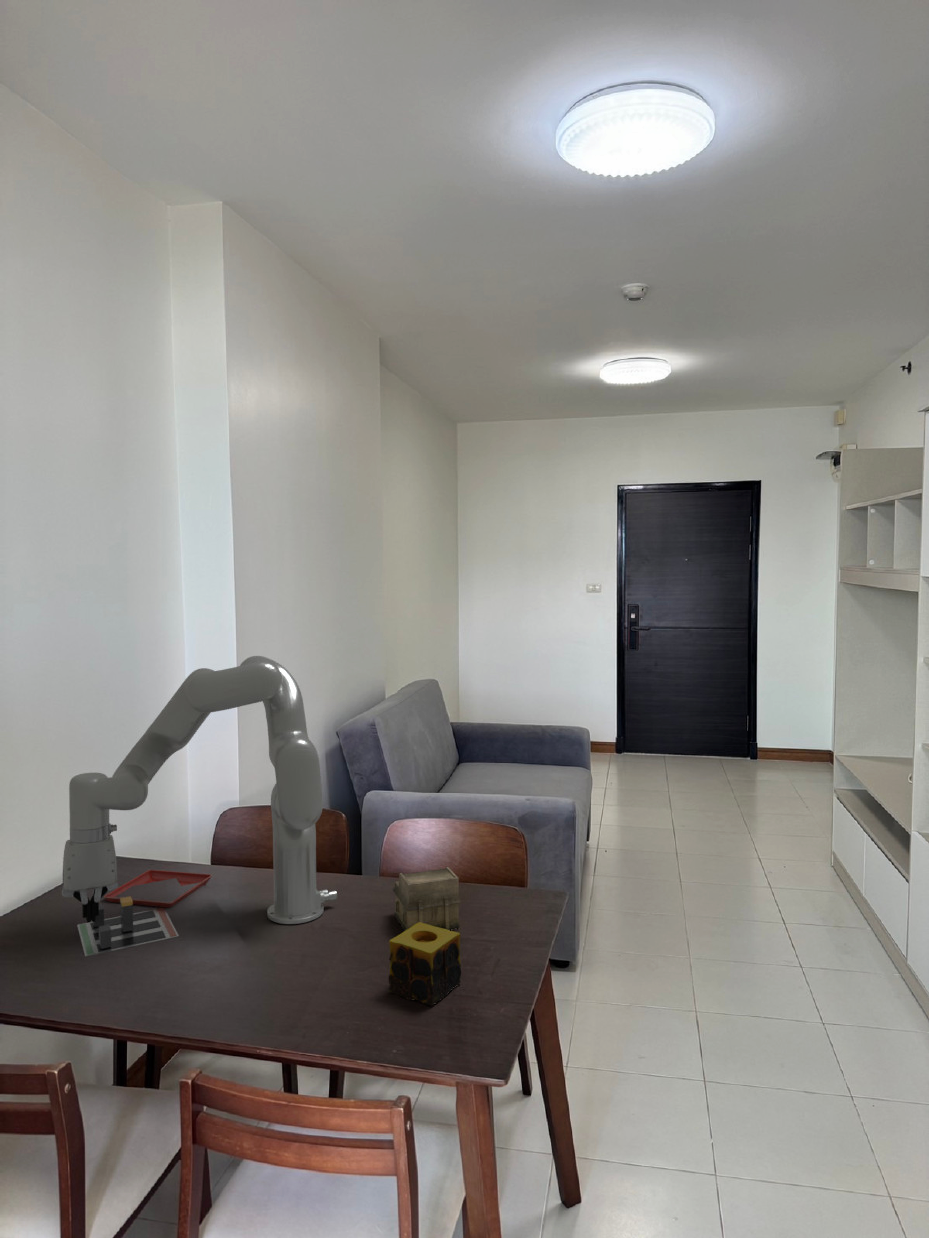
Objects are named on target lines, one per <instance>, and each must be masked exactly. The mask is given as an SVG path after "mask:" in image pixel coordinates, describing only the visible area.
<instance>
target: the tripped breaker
mask: <svg viewBox="0 0 929 1238" xmlns="http://www.w3.org/2000/svg"><path fill="white" fill-rule="evenodd" d="M119 898H120V916H121V928H122V930H123V932H126V931H131V930H133V914H134V913H133V911H134V910H133V905H134V904H133V901H132V899H133V898H132V896H131V895H130V896H125V897H124V896H123V897H119Z"/></svg>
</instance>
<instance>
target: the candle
mask: <svg viewBox="0 0 929 1238" xmlns="http://www.w3.org/2000/svg"><path fill="white" fill-rule="evenodd" d="M460 940H461V933H460V932H457V931H455V930H451V931H450V930H447V929H443V928H439V927H435V926H432V925H428V924H424V923H421V922H419V923H416V924H415V925H413V926H412V927H411V928H409V929H407V930H406V931H404V930H403V932H401V933H400V934H398V935H396V936H395V937H393V938H391V939H389V941H388V944H389V946H388V947H389V959H388V960H389V972H388V973H389V975H388V991H389V993H391V994H393V993H394V994H393V995H396V996H399V995H400V996H399V997H401V996H403V997H402V998H404V997H406V998H405V999H407V998H408V999H407V1000H410V999H414V1000H419V1001H421V1002H423V1003H422V1004H424V1003H425V1004H424V1005H426V1004H428V1005H430V1006H429V1007H434V1006H435V1005H434V1003H437V1002H438V1001H439V1002H440V999H442V998H443V997H444V996H446V995H447V996H448V994H447V993H448V992H450V991H451V989H453V987H455V986H456V985H459V986H460V984H461V977H462V969H461V967H462V963H461V950H460V947H461V943H460V942H461V941H460ZM459 983H460V984H459ZM453 990H454V989H453ZM451 992H452V991H451ZM451 992H450V993H451ZM447 996H446V997H447ZM444 998H445V997H444ZM444 998H443V999H444ZM443 999H442V1000H443ZM414 1000H413V1001H414ZM419 1001H418V1002H419ZM421 1002H420V1003H421ZM439 1002H438V1003H439ZM438 1003H437V1004H438ZM428 1005H427V1006H428ZM433 1005H434V1006H433Z"/></svg>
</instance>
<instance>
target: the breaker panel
mask: <svg viewBox="0 0 929 1238" xmlns="http://www.w3.org/2000/svg"><path fill="white" fill-rule="evenodd" d="M108 924H109V925H110V928H111V946H112V947H107V948H103V949H101V948H100V944H99V926H95V927H94V924H93V921H91V922H89V923H87V922H85V923H84V922H83V923H79V924H77V926H76V927H77V930H78V934H79V937H80V942H81V946H82V950H83V953H84V957H90V956H93V955H98V954H104V953H109V952H114V951H117V950H122V949H127V948H130V947H131V948H132V947H135V946H139V945H140V946H141V945H144V944H149V943H153V942H159V941H163V940H169V939H172V938H176V937H179V936H180V935H179V934H178V931H177V929H176V928H175V926H174V924H173V921H172V920H171V918H170V916H169V914H168V913H167V910H166V909H165V907H159V908H154V909H150V910H146V911H145V910H144V911H140V912H134V913H133V930H131V931H126V932H123V930H122V928H121V915H119V916H115V917H108V918H104V925H108ZM100 926H103V925H100Z"/></svg>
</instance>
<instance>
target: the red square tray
mask: <svg viewBox="0 0 929 1238" xmlns="http://www.w3.org/2000/svg"><path fill="white" fill-rule="evenodd" d="M212 876H213V875H212V874H210V873H198V872H184V871H171V870H161V869H160V870H159V869H149V870H148V869H147V870H146V871H144V872H143V873H141V874H140V875H137V876H136V877H135V878H132V879H131V880H129V881H127V882H126V883H124V884H122V885H121V886H118V887H117V888H116V889H113V890H111V891H109V893H108V892H107V894H105V895H104V896H103V897H104V899H105V900H106V901H107V902H111V903H120V898H121V897H117V896H118V895H120V894H122V893H124V892H126V891H127V890H128V889H130V888H133V887H134V886H135V887H136V886H141V885H147V884H151V883H156V882H162V881H167V880H172V879H174V880H175V879H176V880H177V882H178V884H179V886H181V887H184V886H188V885H192V884H193V885H194V884H196V885H194V886H193V887H191V888H190V889H189V890H187V891H185V892H184V893H183V894H181V895H180V896H178V897H177V898H175V899H174V900H173V901H169V902H166V901H156V900H147V899H145V900H144V899H135V898H134V899H133V898H132V901H133V905H139V906H150V907H152V906H153V907H159V908H172V907H174V906H175V905H176V904H179V903H180V902H181V901H183V900H184V899H185V898H187V897H188V896H190V895H191V894H193V893H195V892H196V891H197V890H198V889H200V888H201V887H203V886H206V885H207V884H208V883H209V882H210V879H211V878H212Z"/></svg>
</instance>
